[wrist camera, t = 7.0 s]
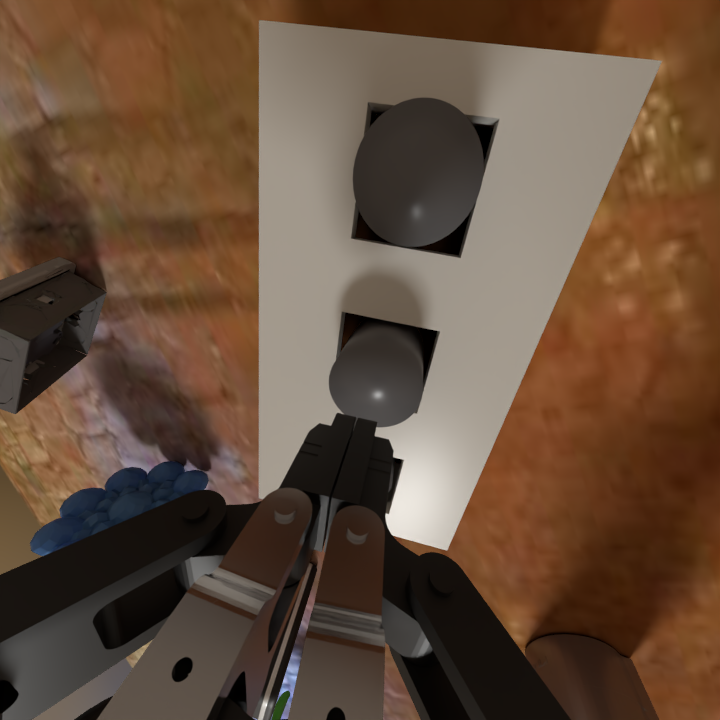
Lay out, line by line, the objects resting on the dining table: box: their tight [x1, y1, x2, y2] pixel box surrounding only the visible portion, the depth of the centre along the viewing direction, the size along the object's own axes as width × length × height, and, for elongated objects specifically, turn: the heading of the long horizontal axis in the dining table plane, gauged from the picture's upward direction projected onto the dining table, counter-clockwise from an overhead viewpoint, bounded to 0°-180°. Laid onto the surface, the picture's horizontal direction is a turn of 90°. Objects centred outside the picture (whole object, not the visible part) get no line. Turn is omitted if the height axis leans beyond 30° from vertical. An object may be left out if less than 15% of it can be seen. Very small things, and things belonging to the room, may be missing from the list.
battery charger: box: [253, 563, 317, 720], centre depth 32 cm, size 7×4×11 cm, turn 166°
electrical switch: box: [0, 257, 107, 414], centre depth 23 cm, size 9×5×9 cm, turn 142°
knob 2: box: [329, 317, 424, 427], centre depth 17 cm, size 4×4×5 cm
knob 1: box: [353, 97, 484, 247], centre depth 13 cm, size 4×4×5 cm
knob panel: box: [259, 20, 662, 550], centre depth 19 cm, size 14×26×6 cm, turn 172°
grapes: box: [30, 461, 209, 556], centre depth 28 cm, size 12×7×12 cm, turn 82°
